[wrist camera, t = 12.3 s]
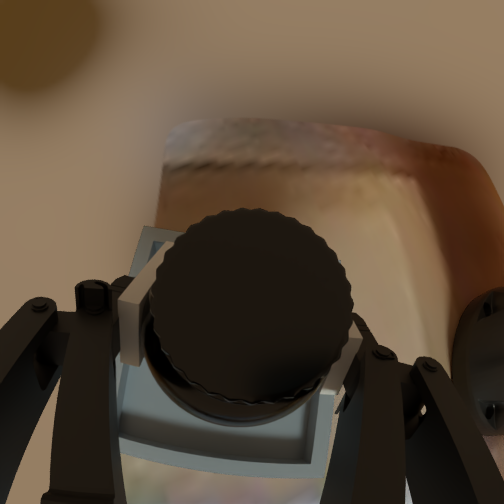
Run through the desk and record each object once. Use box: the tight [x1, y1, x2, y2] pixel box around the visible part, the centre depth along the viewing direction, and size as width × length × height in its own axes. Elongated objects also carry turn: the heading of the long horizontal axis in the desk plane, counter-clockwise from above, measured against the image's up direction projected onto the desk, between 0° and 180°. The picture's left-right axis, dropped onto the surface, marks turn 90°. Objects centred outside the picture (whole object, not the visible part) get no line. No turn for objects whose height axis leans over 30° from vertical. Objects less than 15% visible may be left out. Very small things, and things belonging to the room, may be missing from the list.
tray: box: [115, 226, 341, 478], centre depth 19 cm, size 14×15×2 cm
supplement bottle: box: [141, 208, 354, 427], centre depth 12 cm, size 7×7×12 cm
